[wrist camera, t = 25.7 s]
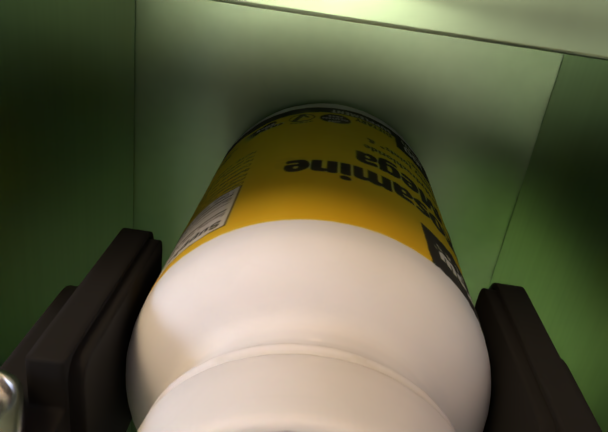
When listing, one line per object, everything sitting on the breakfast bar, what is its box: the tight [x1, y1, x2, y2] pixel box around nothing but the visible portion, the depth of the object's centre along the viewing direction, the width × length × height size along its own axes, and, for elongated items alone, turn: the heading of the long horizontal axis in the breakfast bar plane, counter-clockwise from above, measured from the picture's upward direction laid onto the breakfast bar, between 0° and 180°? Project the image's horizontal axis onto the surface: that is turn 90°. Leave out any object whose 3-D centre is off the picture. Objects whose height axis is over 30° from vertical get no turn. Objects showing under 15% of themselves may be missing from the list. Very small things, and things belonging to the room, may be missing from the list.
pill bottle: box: [125, 103, 491, 432], centre depth 12 cm, size 6×6×11 cm
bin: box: [0, 0, 608, 432], centre depth 15 cm, size 20×13×9 cm, turn 172°
